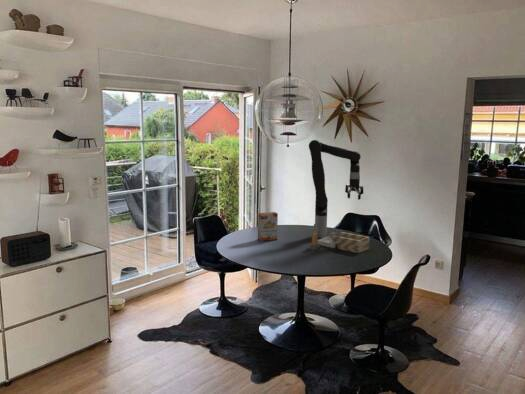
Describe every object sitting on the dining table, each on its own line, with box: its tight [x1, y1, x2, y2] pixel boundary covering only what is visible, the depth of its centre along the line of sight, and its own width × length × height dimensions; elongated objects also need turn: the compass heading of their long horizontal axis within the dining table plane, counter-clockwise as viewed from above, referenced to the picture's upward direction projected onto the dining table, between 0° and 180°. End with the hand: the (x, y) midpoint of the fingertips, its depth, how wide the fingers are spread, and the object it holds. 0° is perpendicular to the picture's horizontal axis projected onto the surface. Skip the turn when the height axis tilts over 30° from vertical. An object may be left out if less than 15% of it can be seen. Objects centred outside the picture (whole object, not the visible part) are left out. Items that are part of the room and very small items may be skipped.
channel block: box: [331, 231, 371, 254], centre depth 321 cm, size 22×15×8 cm
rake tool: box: [308, 232, 321, 251], centre depth 320 cm, size 4×8×10 cm, turn 139°
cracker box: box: [257, 211, 279, 242], centre depth 339 cm, size 14×6×21 cm, turn 112°
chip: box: [329, 231, 338, 239], centre depth 329 cm, size 4×4×4 cm
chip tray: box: [318, 235, 338, 249], centre depth 331 cm, size 15×16×3 cm
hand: (354, 198), depth 345 cm, fingers open, 8 cm apart
